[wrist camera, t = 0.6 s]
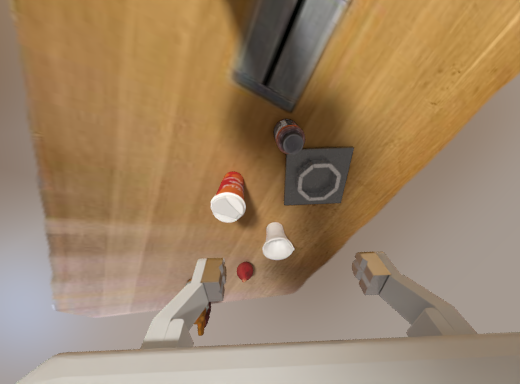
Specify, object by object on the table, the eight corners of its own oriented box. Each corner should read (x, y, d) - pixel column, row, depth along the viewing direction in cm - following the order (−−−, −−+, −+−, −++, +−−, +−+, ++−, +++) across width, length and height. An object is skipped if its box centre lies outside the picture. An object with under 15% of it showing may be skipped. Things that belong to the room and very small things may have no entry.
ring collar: (286, 148, 48) (288, 153, 45) (352, 146, 48) (358, 151, 45) (283, 203, 57) (285, 210, 54) (339, 201, 57) (344, 207, 54)
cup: (287, 236, 64) (293, 260, 56) (260, 237, 64) (262, 261, 55) (290, 216, 60) (296, 239, 51) (261, 216, 59) (262, 239, 51)
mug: (204, 273, 73) (194, 314, 60) (222, 295, 82) (216, 335, 69) (180, 279, 75) (165, 320, 62) (200, 300, 83) (190, 340, 70)
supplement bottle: (302, 129, 46) (315, 143, 36) (285, 147, 48) (293, 165, 38) (284, 112, 44) (293, 122, 34) (268, 132, 46) (271, 147, 36)
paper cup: (252, 178, 52) (252, 208, 40) (236, 196, 55) (231, 229, 43) (229, 162, 49) (222, 188, 38) (213, 181, 52) (202, 212, 40)
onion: (245, 254, 68) (244, 274, 62) (256, 262, 71) (256, 281, 64) (234, 262, 70) (232, 282, 64) (245, 269, 73) (244, 289, 66)
